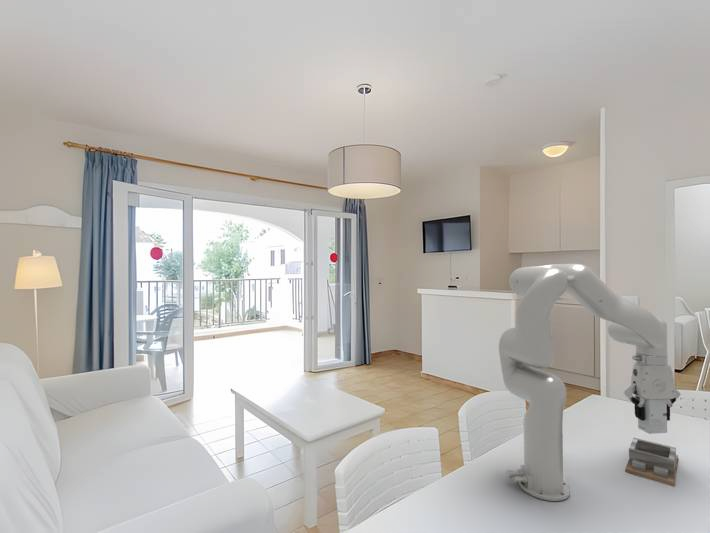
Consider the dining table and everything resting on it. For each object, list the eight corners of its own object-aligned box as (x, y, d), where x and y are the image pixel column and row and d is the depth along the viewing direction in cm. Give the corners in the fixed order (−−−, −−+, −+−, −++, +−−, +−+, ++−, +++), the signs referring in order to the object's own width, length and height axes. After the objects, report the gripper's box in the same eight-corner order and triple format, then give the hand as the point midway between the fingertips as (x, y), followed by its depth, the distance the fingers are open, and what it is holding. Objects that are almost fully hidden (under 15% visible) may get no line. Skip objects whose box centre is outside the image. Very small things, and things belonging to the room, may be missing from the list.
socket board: (674, 486, 103) (674, 468, 103) (625, 471, 110) (625, 454, 110) (678, 458, 118) (678, 442, 118) (634, 447, 125) (634, 432, 125)
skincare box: (650, 434, 111) (649, 393, 111) (636, 428, 116) (636, 388, 116) (668, 433, 112) (668, 392, 112) (654, 426, 117) (654, 387, 117)
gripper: (630, 362, 111) (631, 423, 111) (691, 362, 110) (692, 424, 110) (613, 356, 118) (614, 413, 118) (671, 356, 117) (672, 414, 117)
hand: (652, 418), depth 114 cm, fingers closed on skincare box, 6 cm apart
